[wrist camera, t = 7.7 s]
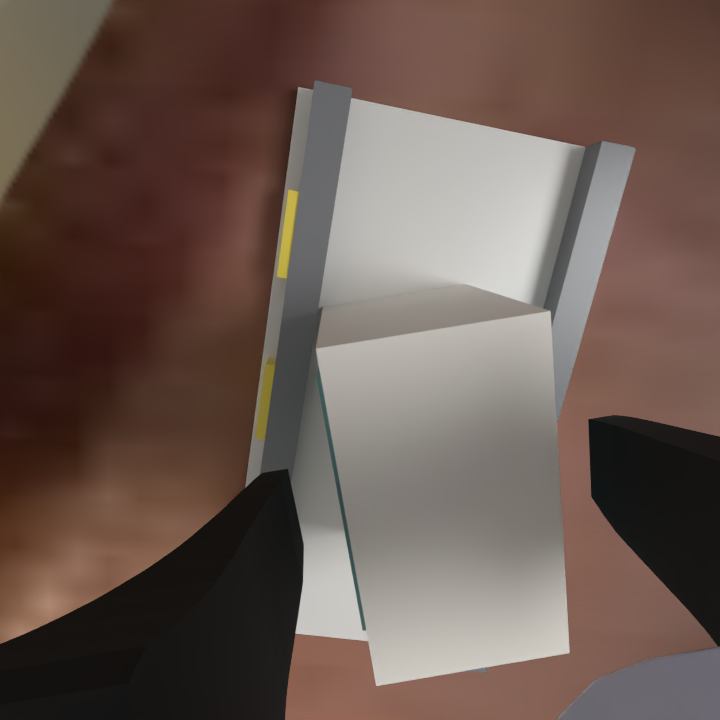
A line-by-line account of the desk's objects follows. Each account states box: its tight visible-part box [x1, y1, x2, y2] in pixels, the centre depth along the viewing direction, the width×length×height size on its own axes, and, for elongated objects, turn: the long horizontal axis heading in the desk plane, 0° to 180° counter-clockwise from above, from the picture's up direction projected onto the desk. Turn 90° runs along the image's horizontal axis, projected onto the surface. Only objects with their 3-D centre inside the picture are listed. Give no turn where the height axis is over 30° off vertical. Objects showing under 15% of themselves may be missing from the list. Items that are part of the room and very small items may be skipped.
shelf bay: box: [245, 80, 636, 673], centre depth 16 cm, size 18×10×1 cm, turn 170°
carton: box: [316, 284, 569, 686], centre depth 13 cm, size 5×8×6 cm, turn 9°
